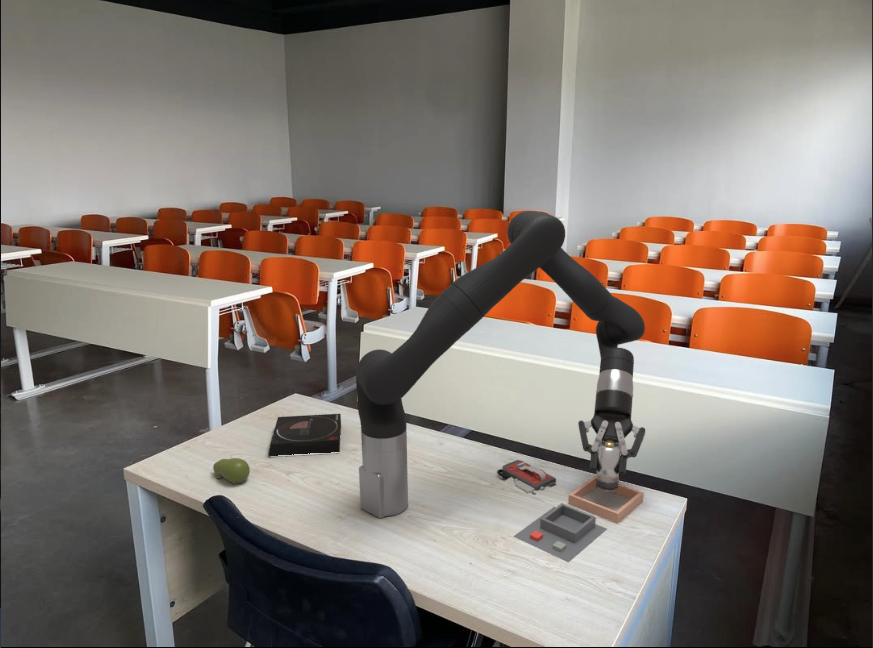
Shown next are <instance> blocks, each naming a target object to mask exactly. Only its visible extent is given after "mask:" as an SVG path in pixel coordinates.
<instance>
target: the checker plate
mask: <svg viewBox="0 0 873 648" xmlns="http://www.w3.org/2000/svg"><path fill="white" fill-rule="evenodd" d="M596 520H597V517H596V516H594V515H593V514H589V513H588V512H585V511H583V510H581V509H580V510H579V508H578V509H577V508H576V507H574V506H570V505H569V504H568V505H567V504H564V503H560V504H559V505H558V506H556V507H555V506H553V507H552V508H551V509H548V511H546V512H545V513H543V514H542V515H541V516H539V517H538V518H536V519H535V520H534V521H532V522H531V523H530V524H528V525H527V526H526V527H524V528H523V529H521V530H520V531H519V532H518V533H516V534H515V535H513V536H512V537H514V538H516V539H518V540H520V541H522V542H524V543H527V544H528V545H531V546H533V547H535V548H537V549H539V550H541V551H543V552H546V553H548V554H550V555H552V556H553V557H556V558H558V559H560V560H563V561H564V562H566V563H570V562H571V561H572V560H573V559H574V558H576V556H578V555H579V554H580V553H581V552H583V551H584V550H585V549H586V548H588V546H589V545H591V544H592V543H594V541H595V540H596V539H598V538H599V537H600V536H601V535H602V534H603V533H605V532H606V531H607V530H608V528H606V527H603V526H602V525H599V524H597V523H596Z"/></svg>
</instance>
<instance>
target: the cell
mask: <svg viewBox="0 0 873 648" xmlns="http://www.w3.org/2000/svg"><path fill="white" fill-rule="evenodd" d="M620 451H621V446H620V445H619V444H618V443H615V442H613V441H605V442H604V441H603V442H601V443H599V444H598V461H597V473H596V487H595V488H597V489H598V490H599V491H601V492H607V493H614V492H613V491H616V490H617V489H618V485H619V484H620V483H619V481H620V479H619V477H620V476H618V475H619V461H620V456H621V453H620Z"/></svg>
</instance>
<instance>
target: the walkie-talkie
mask: <svg viewBox="0 0 873 648" xmlns="http://www.w3.org/2000/svg"><path fill="white" fill-rule="evenodd" d="M496 473H497V475H499V476H500V477H501V478H502V479H503V480H504V481H507V480H508V479H510V478H512V482H514V485H515V487H516V488H518V489H520V490H521V491H523V492H524V493H526V494H532V495H534V496H536V495H537V493H536V492H535V491H537V492H538V491H543V490H545V488H546V487H549V488H552V487H554V486H557V478H556V477H555V476H552V475H550V474H549V473H547V472H546V471H545V470H542V469H540V468H539V467H537V466H535V465H531V464H529V463H527V462H526V461H523V460H520V459H516V460H514V461H511V462H509V463H506V464H504V465H502V469H501V468H500V469H497V472H496Z"/></svg>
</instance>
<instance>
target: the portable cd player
mask: <svg viewBox="0 0 873 648" xmlns="http://www.w3.org/2000/svg"><path fill="white" fill-rule="evenodd" d="M272 433H273V434H272V437H271V440H270V443H269V449H268V456H269V457H270V456H278V455H292V454H293V455H294V454H308V453H309V454H310V453H331V452H340V451H341V438H340V435H341V434H342V416H341V413H328V414H327V413H325V414H308V415H293V416H292V415H289V416H277V418H276V422H275V426H274V430H273V432H272Z"/></svg>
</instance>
